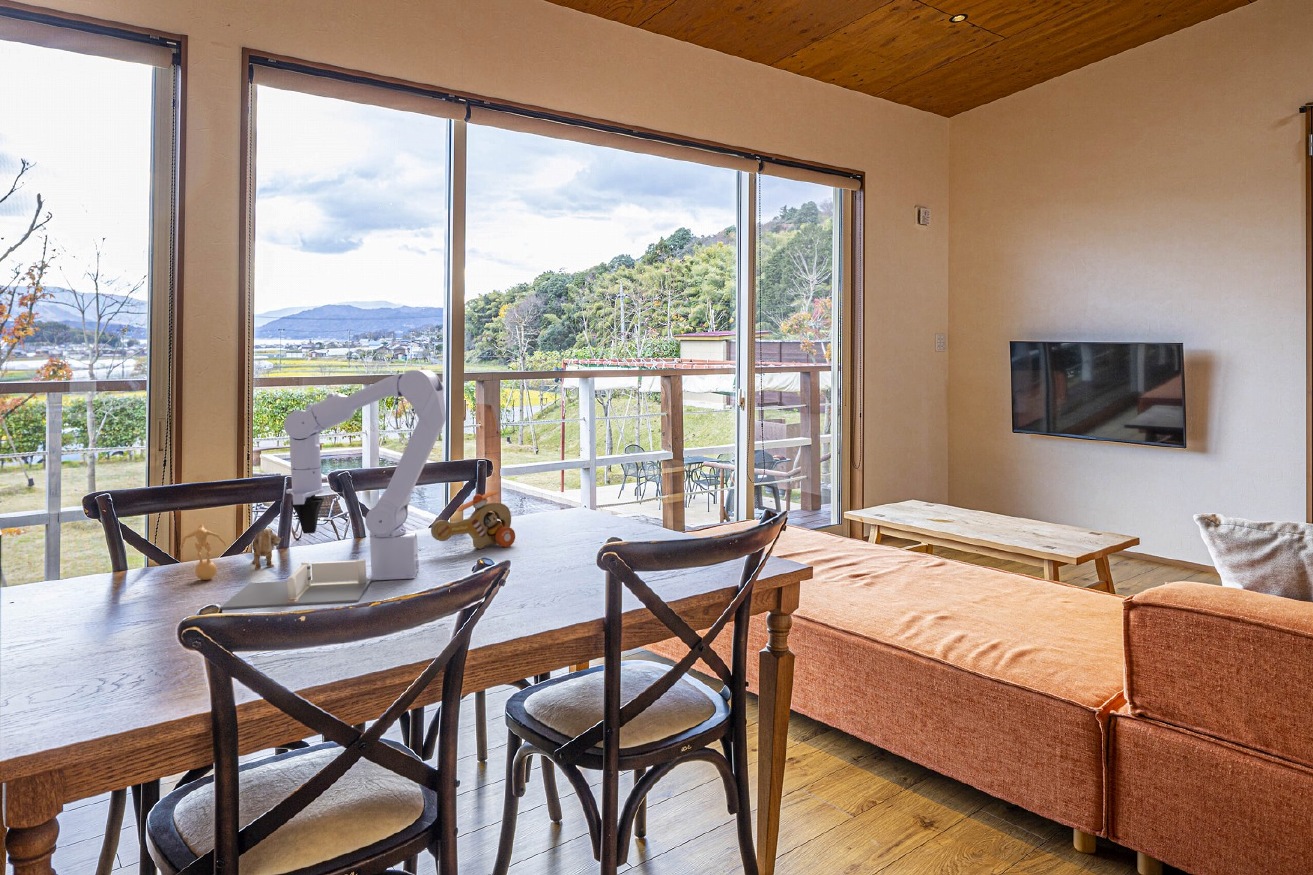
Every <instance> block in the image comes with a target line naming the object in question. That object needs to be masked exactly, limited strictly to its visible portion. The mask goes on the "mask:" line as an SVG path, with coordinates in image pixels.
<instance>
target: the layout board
mask: <svg viewBox="0 0 1313 875" xmlns="http://www.w3.org/2000/svg"><path fill="white" fill-rule="evenodd" d="M367 577H368V576H366V583H364V584H360V583H358V580H350V581H330V582H312V579H311V585H309V586H305V587H304V588H303V589H302V591H301V592H300V593H299V594H298V595H297V597H296V598H293V599H289V598H288V582H287V580H285V581H267V582H266V581H265V582H261V581H260V582H249V583H248V584H247V585H245V586H244V587H243V588H242V589H241V590H239V591H238V592H237V593H236V594H234V595H233V596H232V597H231V598H230V599H229V600H227V601H226V602H225V603H224V604H223V605H221V607H220V610H232V609H249V608H250V609H252V608H267V607H268V608H269V607H285V606H286V607H287V606H305V605H307V606H308V605H309V606H310V605H323V604H324V605H326V604H342V603H343V604H344V603H358V602H359V601H360V599H361V598H362V596H363V595H364V594H365V592H366V591H367V589H368V587H369V586H370V585H371V583H372V581H371V580H367Z"/></svg>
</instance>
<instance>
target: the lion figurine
mask: <svg viewBox="0 0 1313 875" xmlns="http://www.w3.org/2000/svg"><path fill="white" fill-rule="evenodd" d="M281 541H282V538H281V537H279V536H277V535H276V534H275V533H273V529H272V528H265V529H262V530H260V531H259V532H257V534H255V537H254V539H253V540H252V547H251V548H252V550H253V558H254V559H253V560H252V561H251V564H255V566H254V570H255V571H259V570H261V567H262V565H261V561H260V558H261V557H265V559H266V562H265V563H266V567H267V568H268V569H270V568H273V567H275V565H274V564H272V557H273V552H272V551H273V550H274V547H276V548H277V547H279V545H280V544H279V543H280V542H281Z"/></svg>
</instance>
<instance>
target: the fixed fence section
mask: <svg viewBox="0 0 1313 875" xmlns="http://www.w3.org/2000/svg"><path fill="white" fill-rule="evenodd" d="M300 564H301V565H307V577H308V584H307V585H306V586H309V585H311V580H312V582H330V581H350V580H358V583H360V584H364V583H366V577H367V566H366V565H367V563H366V559H357V560H339V561H336V560H335V561H319V562H315V561H313V562H311V561H304V562H301V563H300ZM301 565H300V566H301Z"/></svg>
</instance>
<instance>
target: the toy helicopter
mask: <svg viewBox="0 0 1313 875" xmlns="http://www.w3.org/2000/svg"><path fill="white" fill-rule="evenodd" d="M500 492H501V490H500V489H494V490H491V491H489V492H486V493H483V495H482V494H480V493H478V494H475V495H474V496H472V500H470V501H467V502H466V503H465V504H463V505H460V506H459V507H457V508H456V512H462V511H464V510H466V509H469V508H471V507H473V509H475V510H474V511H473V512H472V513H471V515H470V516H469V517H468V518H465V519H460V520H455V521H448V520H446V519H445V520H444V519H439V520H436V521H435V522H433V524H432V525H431V528H430V533H431V536H432V538H433V539H434V540H436V541H439V542H445V541H448V540H449V539H451V537H452V536H458V535H465V534H468V535H469V537H471V539H472V546H473V548H475V549H478V550H481V549H483V548H484V547H485V546H487V545H495V544H497V545H498V546H500V547H503V548H508V547H511V546H512V545H513V544H514V543H515V540H516V532H515V530H514V529H513V528H512V527H511V525H512V513H511V510H510V509H509V507H508V506H507V505H506V504H504V503H502V502H489V501H488V498H490V497H493V496H494V495H497V494H498V493H500Z"/></svg>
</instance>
